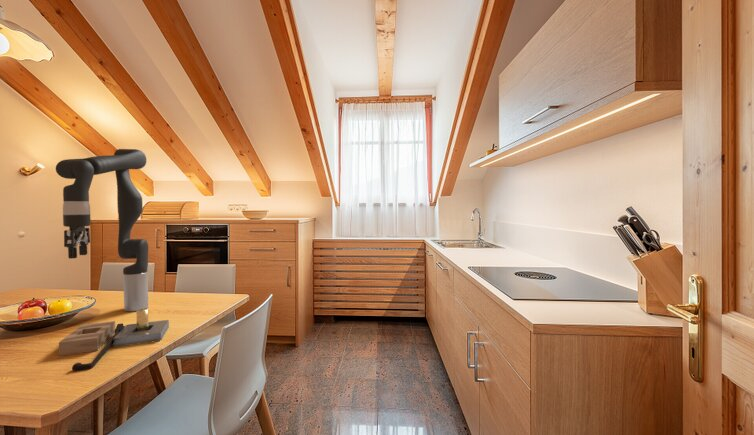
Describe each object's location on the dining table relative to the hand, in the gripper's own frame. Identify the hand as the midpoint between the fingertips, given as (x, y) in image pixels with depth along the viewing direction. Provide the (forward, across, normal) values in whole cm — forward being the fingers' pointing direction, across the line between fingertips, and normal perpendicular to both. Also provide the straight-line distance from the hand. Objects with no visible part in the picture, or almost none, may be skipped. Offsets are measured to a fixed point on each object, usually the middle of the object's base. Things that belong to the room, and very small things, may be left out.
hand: (78, 256), depth 121 cm
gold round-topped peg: (+30, -10, -22) cm, 39 cm away
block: (+30, -10, -22) cm, 39 cm away
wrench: (+31, -18, -12) cm, 38 cm away
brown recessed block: (+30, -10, -6) cm, 32 cm away
